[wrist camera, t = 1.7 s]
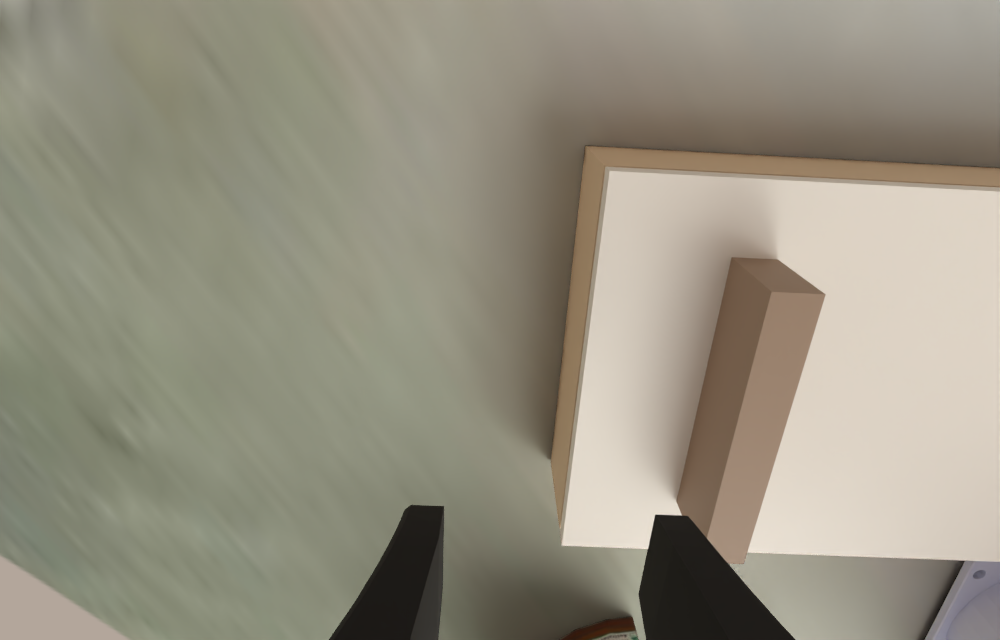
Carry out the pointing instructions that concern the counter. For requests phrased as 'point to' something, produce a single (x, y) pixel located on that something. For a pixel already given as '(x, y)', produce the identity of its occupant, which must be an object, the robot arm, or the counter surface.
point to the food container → (606, 631)
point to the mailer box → (701, 162)
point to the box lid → (791, 367)
